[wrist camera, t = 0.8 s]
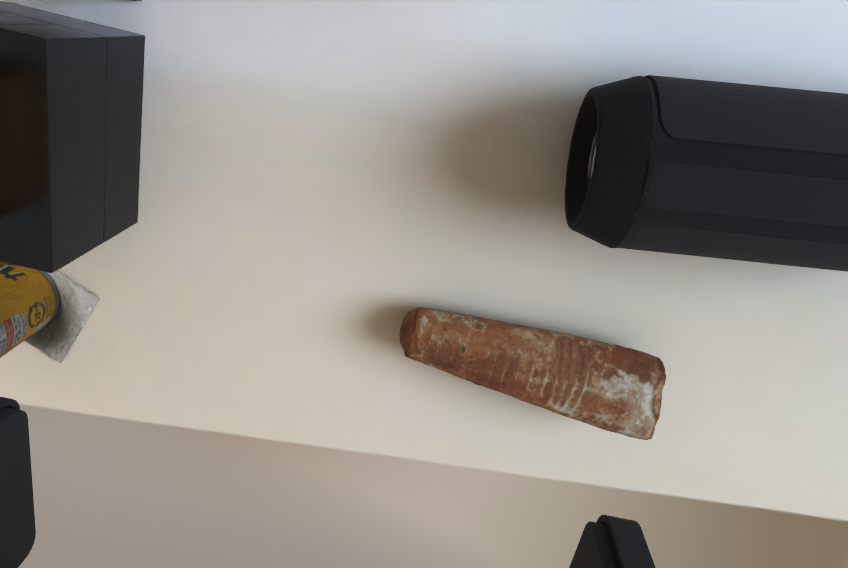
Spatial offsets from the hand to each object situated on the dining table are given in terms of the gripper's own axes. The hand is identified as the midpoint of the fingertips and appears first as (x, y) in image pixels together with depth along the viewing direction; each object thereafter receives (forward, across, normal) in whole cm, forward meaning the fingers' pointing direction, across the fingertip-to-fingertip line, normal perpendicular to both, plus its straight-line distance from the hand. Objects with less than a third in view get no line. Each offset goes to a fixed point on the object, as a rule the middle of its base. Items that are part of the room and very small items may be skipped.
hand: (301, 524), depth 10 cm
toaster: (+34, +24, +2) cm, 42 cm away
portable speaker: (+34, -22, -4) cm, 40 cm away
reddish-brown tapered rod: (+34, -10, +13) cm, 38 cm away
